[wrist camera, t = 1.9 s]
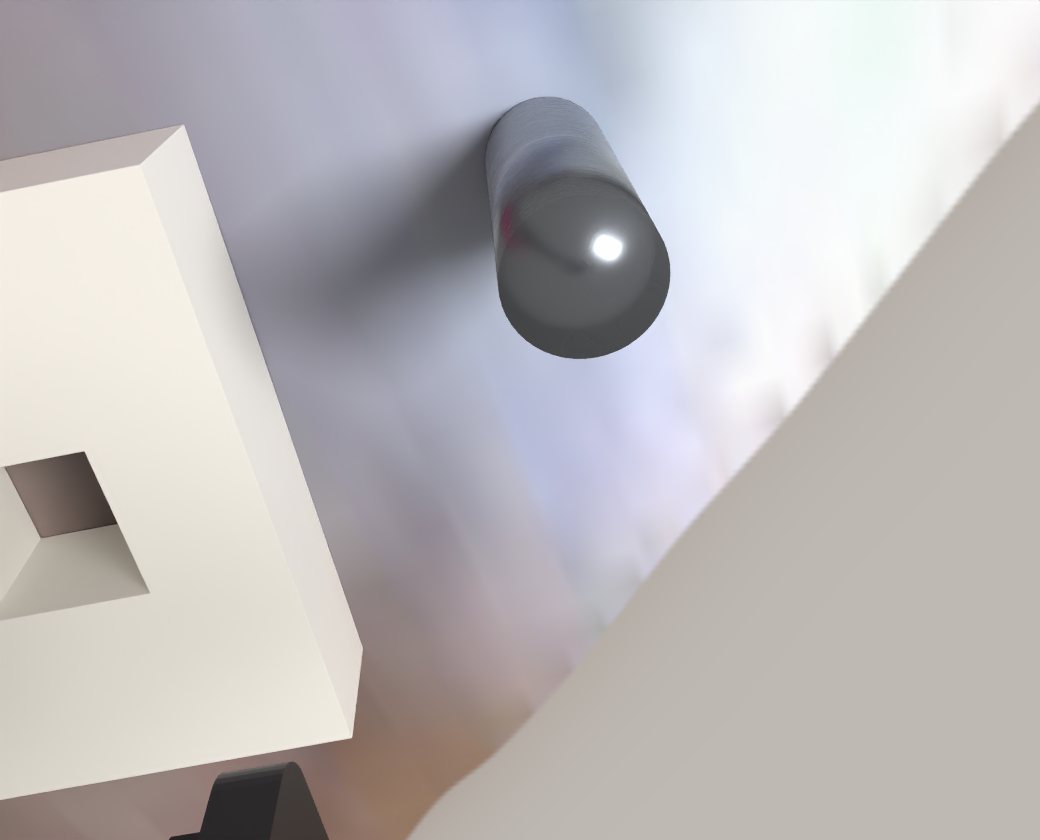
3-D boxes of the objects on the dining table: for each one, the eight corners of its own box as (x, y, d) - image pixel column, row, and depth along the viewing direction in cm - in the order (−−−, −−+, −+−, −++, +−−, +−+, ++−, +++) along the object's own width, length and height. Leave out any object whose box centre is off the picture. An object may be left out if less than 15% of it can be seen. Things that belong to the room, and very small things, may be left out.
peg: (474, 110, 29) (482, 214, 20) (597, 85, 29) (659, 179, 20) (498, 229, 30) (514, 372, 22) (614, 206, 30) (678, 341, 22)
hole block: (-284, 218, 29) (-401, 272, 25) (184, 124, 28) (139, 164, 24) (9, 711, 39) (-42, 807, 35) (362, 648, 38) (352, 737, 34)
